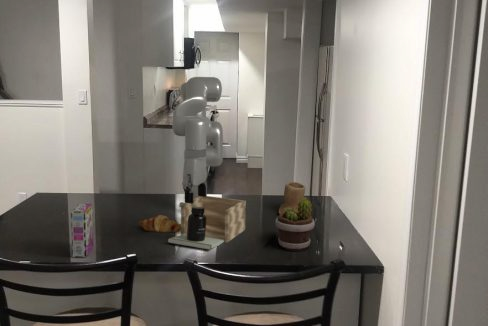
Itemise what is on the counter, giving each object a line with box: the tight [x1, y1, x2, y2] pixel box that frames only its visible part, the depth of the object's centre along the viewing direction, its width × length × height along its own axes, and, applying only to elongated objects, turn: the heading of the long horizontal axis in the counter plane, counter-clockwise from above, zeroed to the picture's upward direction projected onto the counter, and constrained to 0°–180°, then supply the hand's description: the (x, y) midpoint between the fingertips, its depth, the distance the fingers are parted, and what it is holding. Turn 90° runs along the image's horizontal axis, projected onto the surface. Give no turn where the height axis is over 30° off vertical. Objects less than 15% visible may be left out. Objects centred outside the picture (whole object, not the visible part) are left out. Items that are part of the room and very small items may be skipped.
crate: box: [180, 195, 247, 243], centre depth 186 cm, size 17×20×13 cm
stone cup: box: [278, 181, 306, 215], centre depth 218 cm, size 15×12×15 cm
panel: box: [167, 234, 225, 250], centre depth 174 cm, size 1×17×12 cm
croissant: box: [138, 214, 181, 233], centre depth 191 cm, size 21×10×8 cm, turn 71°
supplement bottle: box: [187, 207, 207, 241], centre depth 173 cm, size 7×7×12 cm
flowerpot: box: [274, 196, 316, 252], centre depth 174 cm, size 14×15×20 cm
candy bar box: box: [70, 203, 94, 258], centre depth 165 cm, size 11×5×16 cm, turn 5°
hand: (195, 199), depth 171 cm, fingers open, 9 cm apart
